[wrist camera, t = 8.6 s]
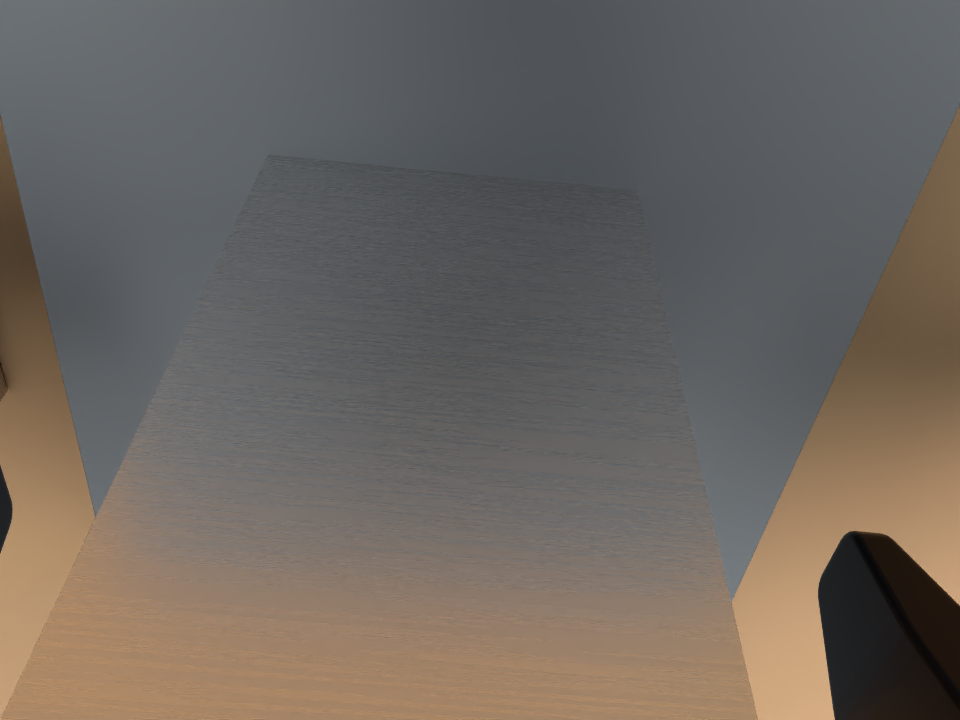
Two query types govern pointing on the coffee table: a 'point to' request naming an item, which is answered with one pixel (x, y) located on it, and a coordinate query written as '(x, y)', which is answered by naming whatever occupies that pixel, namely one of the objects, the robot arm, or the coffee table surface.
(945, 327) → the coffee table surface
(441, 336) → the steel bar
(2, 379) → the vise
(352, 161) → the slate board
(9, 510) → the robot arm
